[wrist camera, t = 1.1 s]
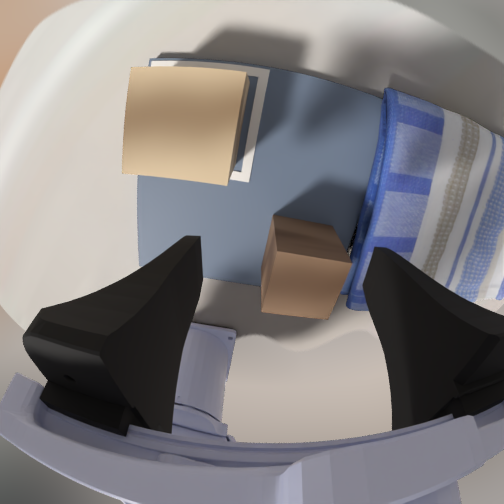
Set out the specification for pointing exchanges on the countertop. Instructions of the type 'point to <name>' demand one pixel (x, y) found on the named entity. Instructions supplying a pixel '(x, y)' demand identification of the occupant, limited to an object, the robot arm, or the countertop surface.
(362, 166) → the board
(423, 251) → the dish towel
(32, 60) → the countertop surface
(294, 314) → the walnut block
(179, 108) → the oak base block
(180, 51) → the countertop surface
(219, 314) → the countertop surface
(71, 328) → the robot arm
